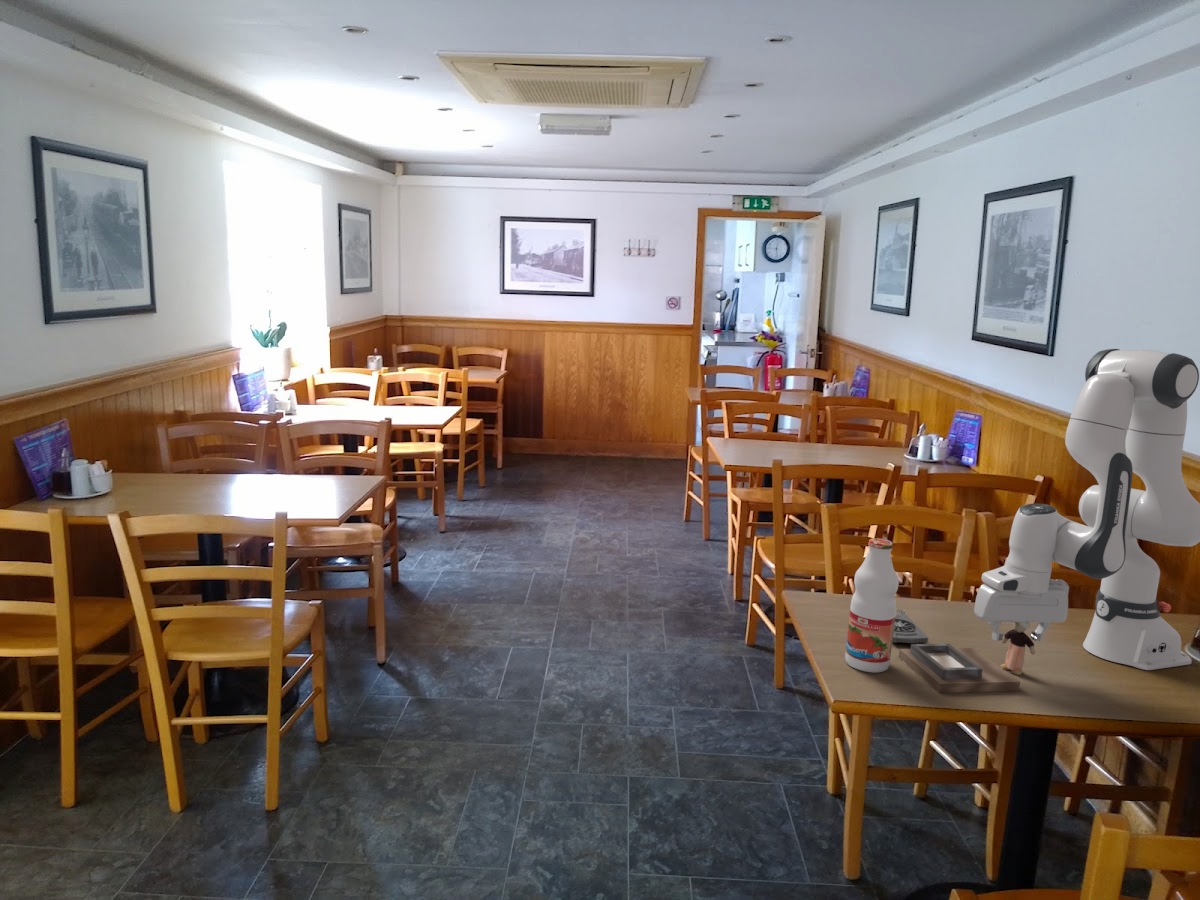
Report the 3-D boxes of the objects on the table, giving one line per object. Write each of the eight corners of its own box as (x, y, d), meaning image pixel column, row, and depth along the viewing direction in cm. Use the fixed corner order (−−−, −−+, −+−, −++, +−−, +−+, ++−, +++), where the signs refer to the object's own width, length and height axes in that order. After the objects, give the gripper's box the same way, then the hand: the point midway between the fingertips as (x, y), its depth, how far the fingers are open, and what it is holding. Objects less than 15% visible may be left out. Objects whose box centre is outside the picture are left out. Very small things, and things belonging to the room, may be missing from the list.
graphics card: (857, 607, 215) (905, 608, 215) (856, 621, 216) (903, 622, 216) (881, 635, 198) (933, 635, 199) (880, 650, 199) (931, 650, 200)
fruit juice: (897, 666, 189) (912, 543, 183) (874, 677, 182) (889, 550, 177) (859, 651, 195) (873, 532, 190) (836, 662, 189) (849, 539, 184)
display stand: (972, 656, 196) (974, 639, 195) (1018, 690, 180) (1021, 672, 179) (898, 657, 193) (900, 640, 193) (938, 692, 177) (941, 674, 176)
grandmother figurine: (992, 667, 191) (1000, 613, 188) (999, 662, 193) (1007, 609, 191) (1028, 679, 185) (1037, 624, 183) (1035, 675, 188) (1044, 620, 185)
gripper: (1060, 575, 190) (1050, 634, 192) (975, 573, 187) (966, 634, 189) (1079, 584, 184) (1069, 645, 186) (992, 583, 180) (982, 645, 183)
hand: (1016, 640), depth 188 cm, fingers open, 8 cm apart
